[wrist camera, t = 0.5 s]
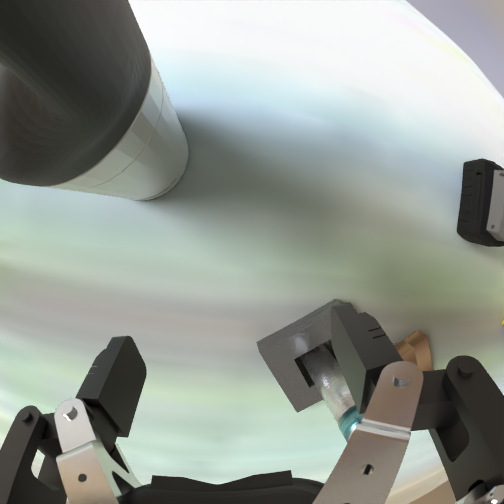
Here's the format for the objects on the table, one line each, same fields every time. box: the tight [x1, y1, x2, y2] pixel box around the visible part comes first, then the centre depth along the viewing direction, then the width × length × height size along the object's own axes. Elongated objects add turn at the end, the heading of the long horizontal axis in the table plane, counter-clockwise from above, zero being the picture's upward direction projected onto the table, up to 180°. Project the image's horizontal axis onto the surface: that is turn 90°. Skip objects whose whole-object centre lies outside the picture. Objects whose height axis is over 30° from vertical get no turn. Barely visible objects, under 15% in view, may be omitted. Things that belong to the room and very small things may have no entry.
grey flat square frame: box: [257, 299, 342, 413], centre depth 30 cm, size 10×10×2 cm
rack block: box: [395, 330, 433, 371], centre depth 33 cm, size 12×10×2 cm
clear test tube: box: [301, 344, 365, 443], centre depth 24 cm, size 3×3×16 cm
